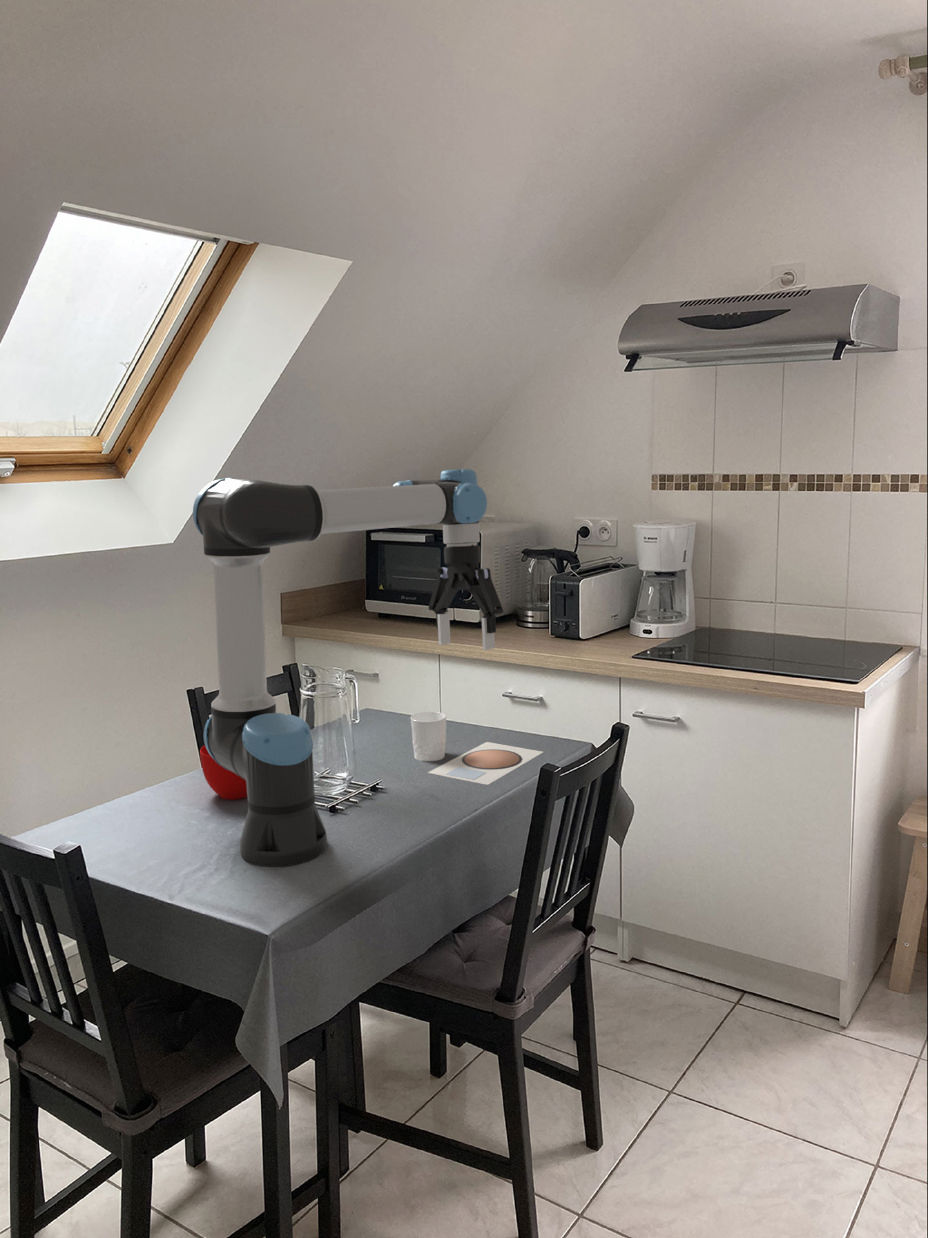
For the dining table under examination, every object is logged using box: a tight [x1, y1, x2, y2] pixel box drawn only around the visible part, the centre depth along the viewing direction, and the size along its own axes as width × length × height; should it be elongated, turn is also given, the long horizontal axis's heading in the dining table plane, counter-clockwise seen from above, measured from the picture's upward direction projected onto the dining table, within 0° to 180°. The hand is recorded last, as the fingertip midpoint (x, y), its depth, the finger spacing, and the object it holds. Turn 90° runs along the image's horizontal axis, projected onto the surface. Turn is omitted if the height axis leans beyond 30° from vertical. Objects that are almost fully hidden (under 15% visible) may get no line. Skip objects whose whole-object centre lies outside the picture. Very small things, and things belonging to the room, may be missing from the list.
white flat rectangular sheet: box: [427, 741, 544, 786], centre depth 221 cm, size 24×15×1 cm, turn 147°
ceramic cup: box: [199, 744, 247, 800], centre depth 208 cm, size 13×17×10 cm
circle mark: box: [462, 749, 522, 770], centre depth 223 cm, size 13×13×1 cm
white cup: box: [410, 711, 447, 762], centre depth 225 cm, size 8×8×10 cm
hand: (466, 646), depth 213 cm, fingers open, 13 cm apart
